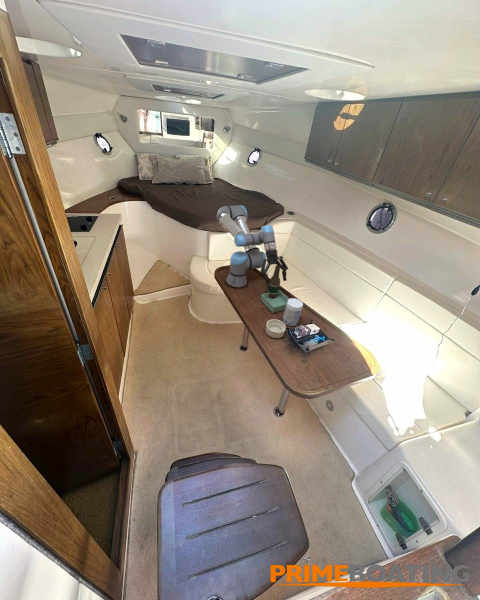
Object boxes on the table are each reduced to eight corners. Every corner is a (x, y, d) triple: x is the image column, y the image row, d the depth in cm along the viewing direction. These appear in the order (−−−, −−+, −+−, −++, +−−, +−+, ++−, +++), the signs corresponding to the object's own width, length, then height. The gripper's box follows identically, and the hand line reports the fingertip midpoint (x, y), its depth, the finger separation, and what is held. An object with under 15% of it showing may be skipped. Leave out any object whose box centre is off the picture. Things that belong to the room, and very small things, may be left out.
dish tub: (260, 299, 172) (261, 294, 169) (278, 295, 178) (279, 290, 175) (272, 312, 161) (273, 307, 159) (291, 307, 168) (292, 302, 165)
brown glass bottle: (277, 299, 173) (284, 269, 159) (266, 298, 173) (272, 268, 159) (276, 293, 180) (283, 263, 165) (265, 292, 179) (271, 262, 165)
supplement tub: (294, 328, 151) (300, 310, 143) (280, 322, 155) (285, 304, 146) (299, 320, 158) (305, 301, 150) (285, 314, 162) (290, 296, 153)
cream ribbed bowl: (261, 328, 149) (263, 321, 146) (277, 323, 154) (278, 317, 151) (271, 341, 141) (273, 334, 138) (287, 335, 146) (289, 329, 143)
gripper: (256, 251, 152) (263, 285, 154) (290, 246, 162) (295, 278, 164) (251, 253, 159) (257, 286, 161) (283, 248, 169) (288, 279, 171)
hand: (276, 282), depth 163 cm, fingers open, 13 cm apart
